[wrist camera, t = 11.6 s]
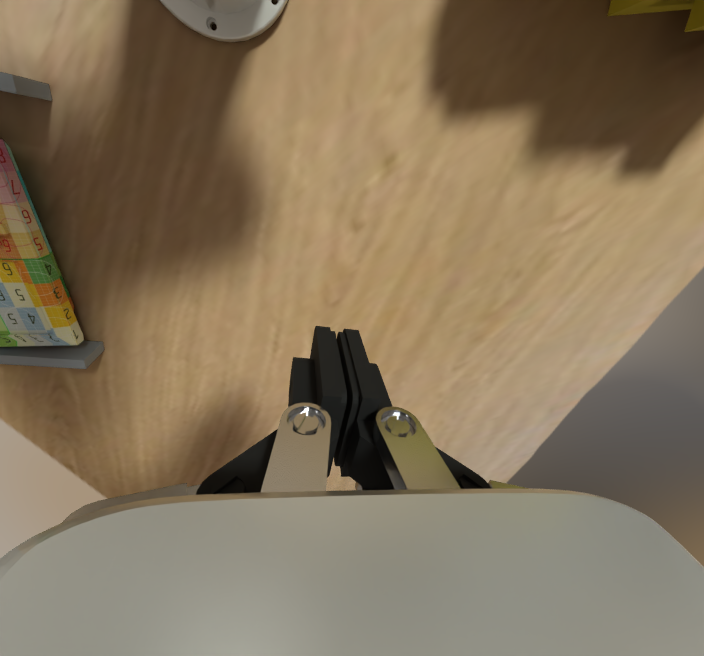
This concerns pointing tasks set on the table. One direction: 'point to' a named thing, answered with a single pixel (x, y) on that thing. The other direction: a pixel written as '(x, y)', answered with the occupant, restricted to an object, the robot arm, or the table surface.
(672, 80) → the table surface
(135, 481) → the table surface
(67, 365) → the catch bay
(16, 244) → the puzzle game
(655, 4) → the toy blocks
